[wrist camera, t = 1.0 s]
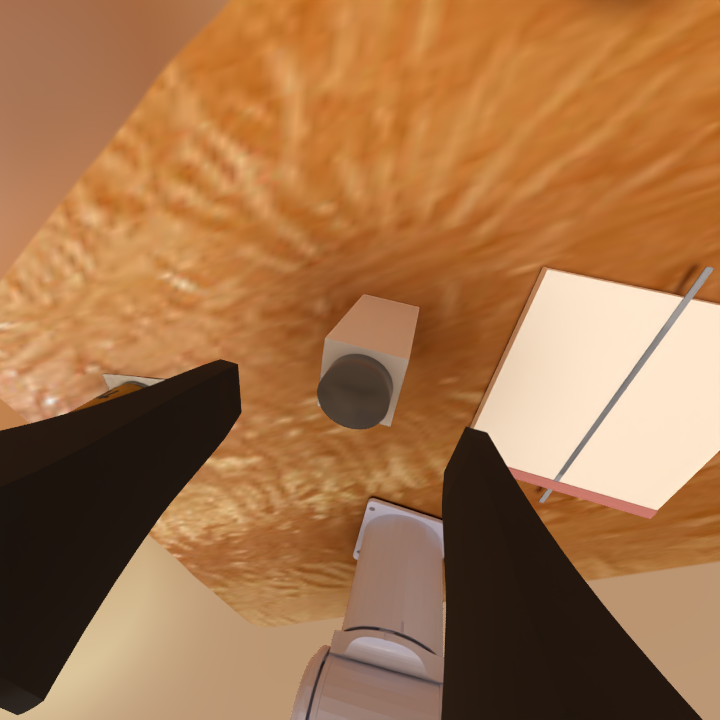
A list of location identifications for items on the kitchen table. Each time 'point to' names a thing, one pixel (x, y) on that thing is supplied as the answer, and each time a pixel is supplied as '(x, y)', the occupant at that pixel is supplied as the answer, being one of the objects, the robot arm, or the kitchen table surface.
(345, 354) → the white bottle
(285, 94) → the kitchen table surface
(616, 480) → the notepad
